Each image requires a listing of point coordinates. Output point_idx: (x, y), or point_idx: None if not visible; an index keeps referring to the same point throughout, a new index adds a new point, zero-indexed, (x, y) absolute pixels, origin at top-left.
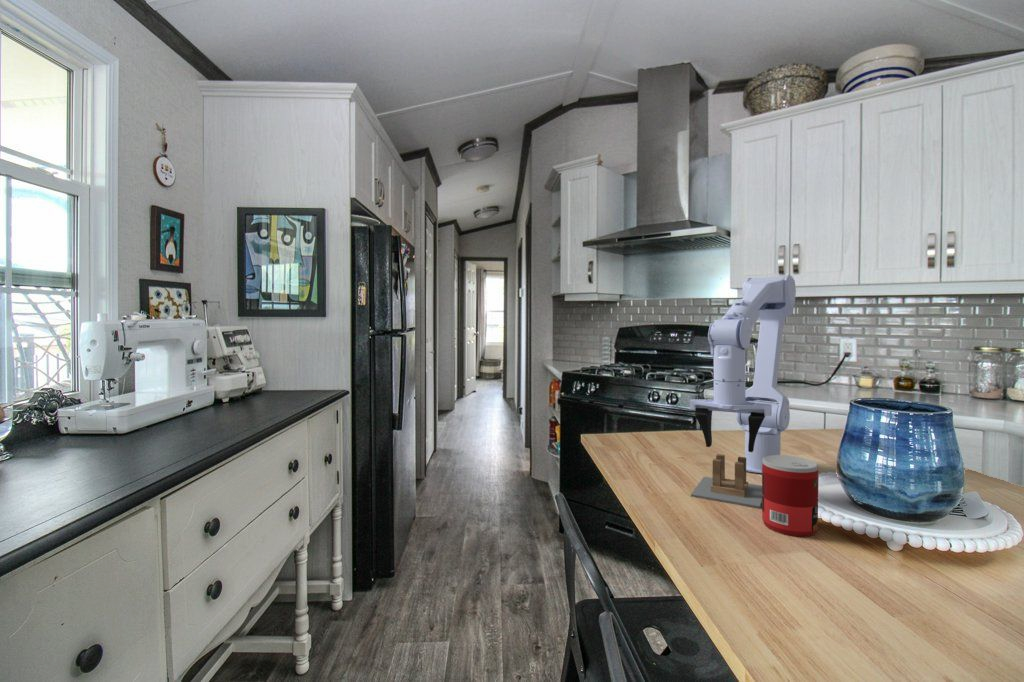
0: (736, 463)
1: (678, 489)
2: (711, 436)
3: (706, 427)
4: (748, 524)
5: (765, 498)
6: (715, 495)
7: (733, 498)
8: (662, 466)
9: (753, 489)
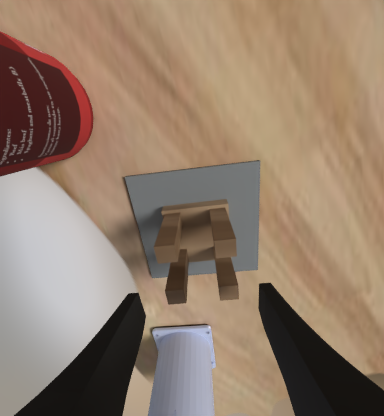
0: (171, 248)
1: (291, 185)
2: (269, 338)
3: (309, 358)
4: (108, 65)
5: (22, 51)
6: (212, 185)
7: (178, 189)
8: (341, 287)
9: None
